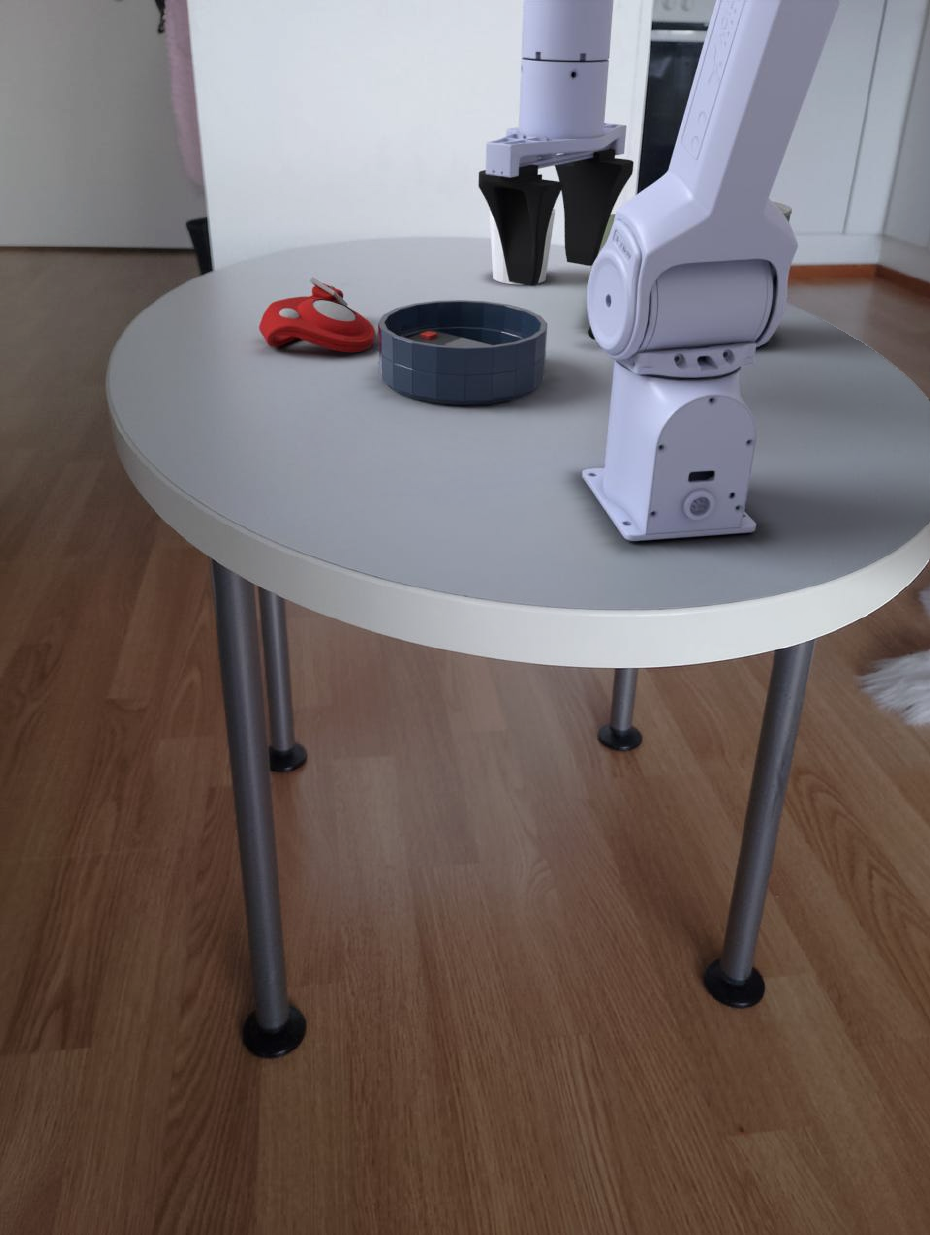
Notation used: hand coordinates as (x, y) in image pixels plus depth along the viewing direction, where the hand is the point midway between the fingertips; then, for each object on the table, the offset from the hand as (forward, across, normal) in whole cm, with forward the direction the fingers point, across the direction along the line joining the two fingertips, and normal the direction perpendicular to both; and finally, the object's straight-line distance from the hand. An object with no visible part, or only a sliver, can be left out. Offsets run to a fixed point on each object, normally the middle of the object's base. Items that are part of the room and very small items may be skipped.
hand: (552, 272), depth 76 cm
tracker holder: (+9, 0, -23) cm, 25 cm away
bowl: (+9, +1, -8) cm, 12 cm away
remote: (+9, +1, -8) cm, 12 cm away
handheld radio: (+9, -25, -9) cm, 28 cm away
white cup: (+9, -29, -22) cm, 38 cm away
